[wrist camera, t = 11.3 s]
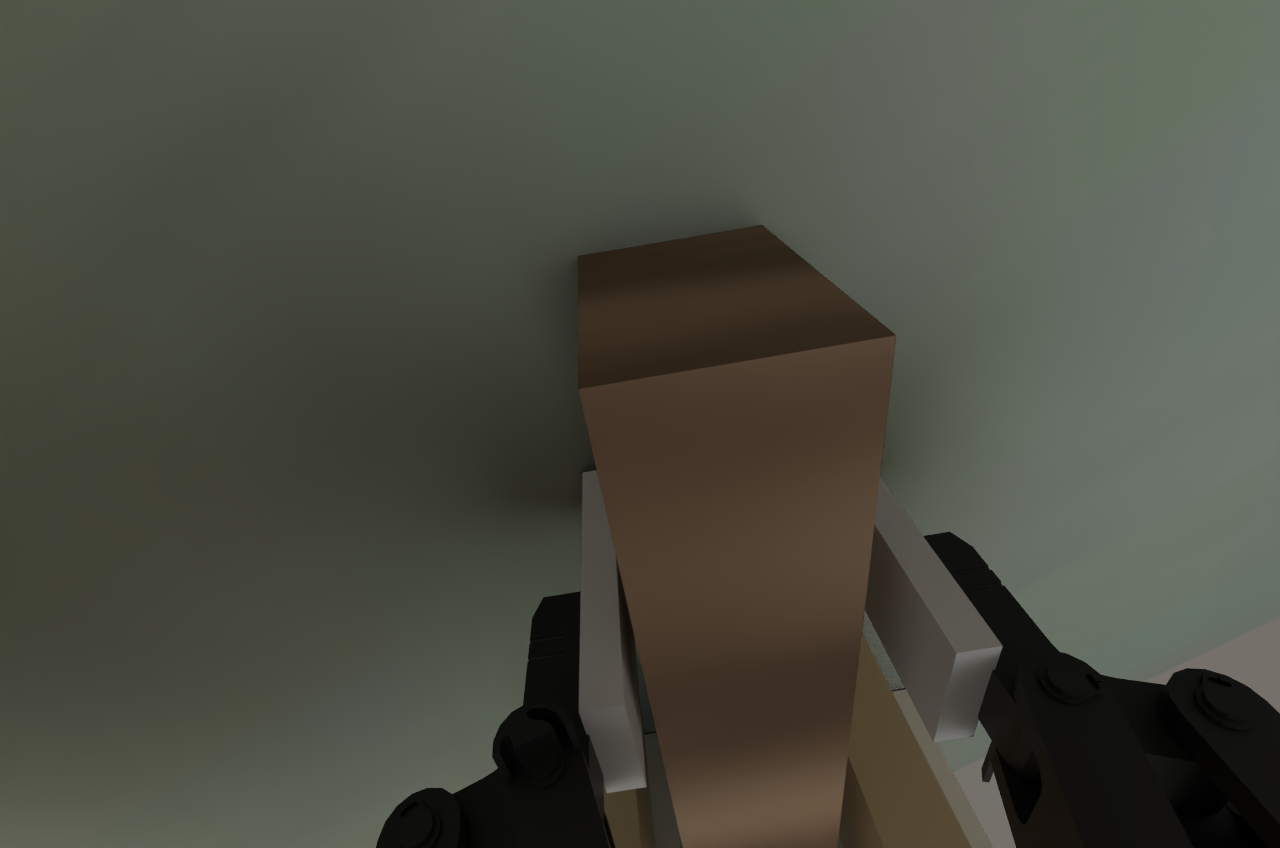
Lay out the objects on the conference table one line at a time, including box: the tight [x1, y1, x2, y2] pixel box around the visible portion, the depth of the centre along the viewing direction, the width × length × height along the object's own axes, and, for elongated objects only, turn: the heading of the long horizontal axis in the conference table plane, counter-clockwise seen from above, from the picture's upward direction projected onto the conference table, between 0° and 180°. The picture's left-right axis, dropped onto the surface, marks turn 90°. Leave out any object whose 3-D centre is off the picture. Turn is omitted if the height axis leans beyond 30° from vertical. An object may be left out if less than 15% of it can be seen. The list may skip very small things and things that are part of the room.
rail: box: [578, 225, 896, 848], centre depth 14 cm, size 18×4×6 cm, turn 8°
